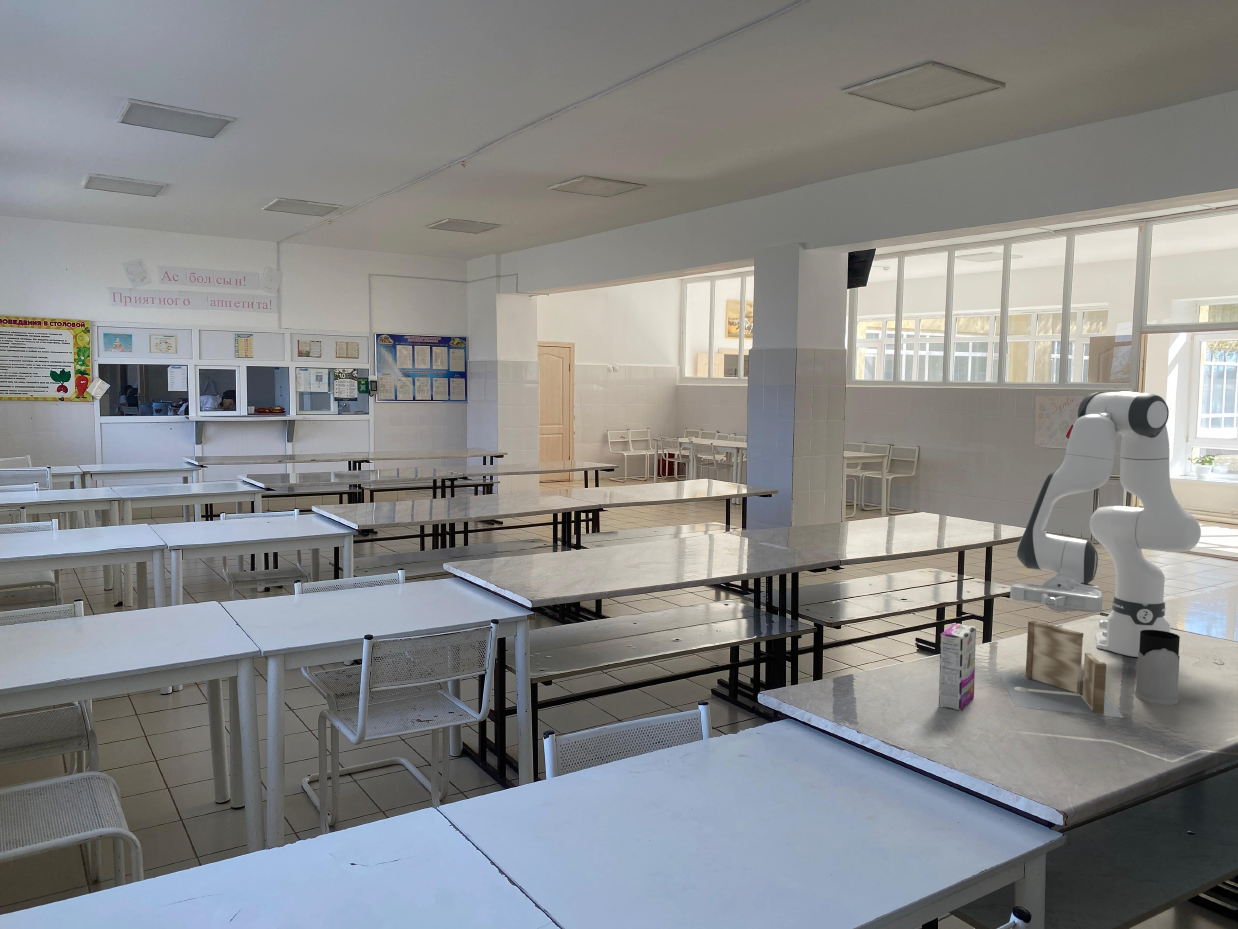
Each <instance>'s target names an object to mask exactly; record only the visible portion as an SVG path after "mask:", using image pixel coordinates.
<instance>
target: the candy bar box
mask: <svg viewBox="0 0 1238 929" xmlns="http://www.w3.org/2000/svg"><path fill="white" fill-rule="evenodd" d="M976 633H977V626H974V625H969V624H962V623H954V624H952V625H951V626H950V627H948V628H947V629H946V630H944V631H943V632H942V633H940V634H939V635H940V640H939V641H940V644H939V645H940V647H939V649H940V650H939V684H938V685H939V688H938V692H939V693H938V706H939V707H940V706H943V707H942V708H944V707H947V708H946V709H949V708H950V709H949V710H954V709H955V711H961V712H962V710H963V709H964V707H966V706H967V704H969V703H970V701H972V700H973V698H975V673H976V671H975V670H976V638H977V636H976V635H977V634H976ZM965 705H966V706H965Z"/></svg>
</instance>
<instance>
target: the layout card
mask: <svg viewBox="0 0 1238 929" xmlns="http://www.w3.org/2000/svg"><path fill="white" fill-rule="evenodd" d="M999 674H1000V676H1001V678H1002V680H1003V683H1004V685H1005V687H1006V689H1007V692H1008V693H1009V696H1010V699H1011V701H1012V703H1013V705H1014V707H1016V708H1025V709H1034V710H1042V711H1051V712H1052V711H1053V712H1063V713H1069V714H1070V713H1071V714H1080V715H1091V716H1099V717H1107V718H1108V717H1110V718H1118V719H1119V718H1120V719H1125V717H1124V716H1123V714H1122V713H1121V712H1120V711H1119V709H1118V708H1117V707H1116V706H1115V705H1114V703H1113V702H1112V700H1111V699H1110V698H1109V697H1108V695H1107V694H1106V693H1105V699H1104V714H1097V713H1094V712H1093V711H1092V710H1093V708H1092V707H1091V706H1090V705H1089V704H1088V702H1087V701H1086V700H1085V699H1084V698H1083V696H1082V695H1080V692H1078V693H1076V692H1073V691H1070V690H1066V689H1063V688H1060V687H1057V686H1053V685H1050V684H1047V683H1044V682H1040V681H1037V680H1034V679H1029V678H1026V673H1025V674H1024V673H1014V672H1013V673H1012V672H1003V671H999ZM1081 681H1083V679H1081Z"/></svg>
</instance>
